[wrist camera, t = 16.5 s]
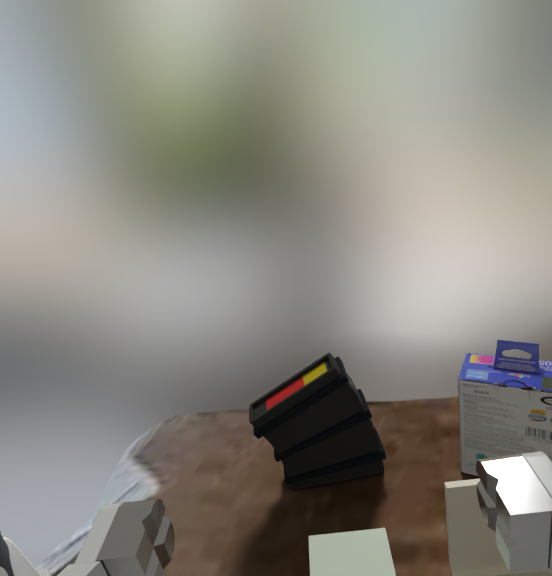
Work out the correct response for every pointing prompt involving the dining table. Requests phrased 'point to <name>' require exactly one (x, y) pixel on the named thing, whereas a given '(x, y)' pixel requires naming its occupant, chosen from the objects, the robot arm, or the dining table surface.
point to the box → (351, 554)
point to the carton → (473, 535)
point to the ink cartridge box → (504, 405)
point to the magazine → (319, 427)
